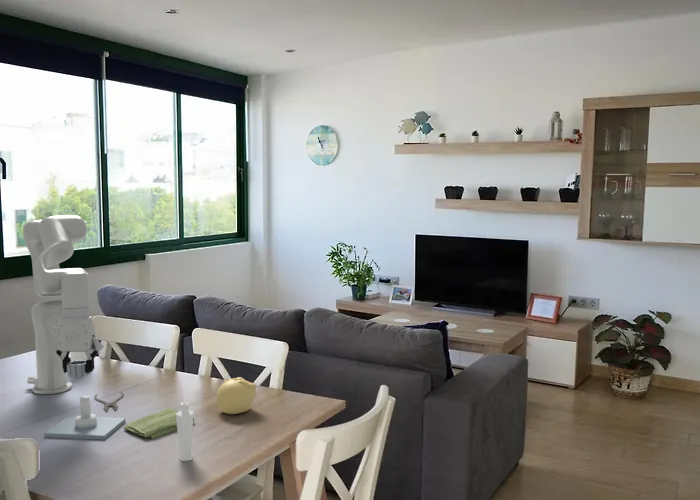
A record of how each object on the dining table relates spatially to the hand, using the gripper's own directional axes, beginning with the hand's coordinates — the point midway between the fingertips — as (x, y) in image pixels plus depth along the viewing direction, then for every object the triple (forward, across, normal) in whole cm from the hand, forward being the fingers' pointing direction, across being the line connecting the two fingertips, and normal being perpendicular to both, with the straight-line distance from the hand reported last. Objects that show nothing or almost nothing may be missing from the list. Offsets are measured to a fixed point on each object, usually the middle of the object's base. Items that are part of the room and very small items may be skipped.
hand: (78, 371), depth 196 cm
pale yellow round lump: (+17, +43, +17) cm, 49 cm away
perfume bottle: (+18, +39, -20) cm, 47 cm away
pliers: (+17, 0, +22) cm, 28 cm away
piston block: (+17, +3, -3) cm, 17 cm away
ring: (+1, 0, 0) cm, 1 cm away
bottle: (+15, -29, +57) cm, 66 cm away
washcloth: (+18, +24, +1) cm, 30 cm away
